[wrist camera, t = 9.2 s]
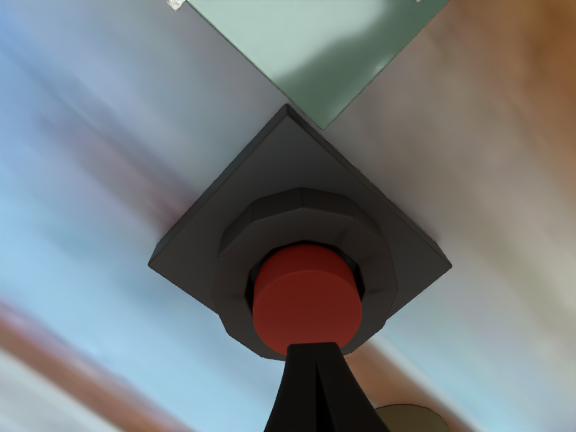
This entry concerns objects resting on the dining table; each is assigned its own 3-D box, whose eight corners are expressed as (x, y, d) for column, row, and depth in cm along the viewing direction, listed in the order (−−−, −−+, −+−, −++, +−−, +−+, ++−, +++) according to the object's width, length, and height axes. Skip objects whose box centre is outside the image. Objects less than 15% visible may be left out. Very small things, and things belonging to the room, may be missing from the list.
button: (302, 223, 15) (306, 249, 13) (374, 283, 16) (385, 313, 15) (234, 290, 16) (229, 321, 15) (305, 341, 17) (309, 375, 16)
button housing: (286, 102, 16) (289, 125, 13) (439, 245, 19) (472, 293, 16) (156, 244, 19) (132, 293, 16) (309, 353, 21) (316, 414, 18)
